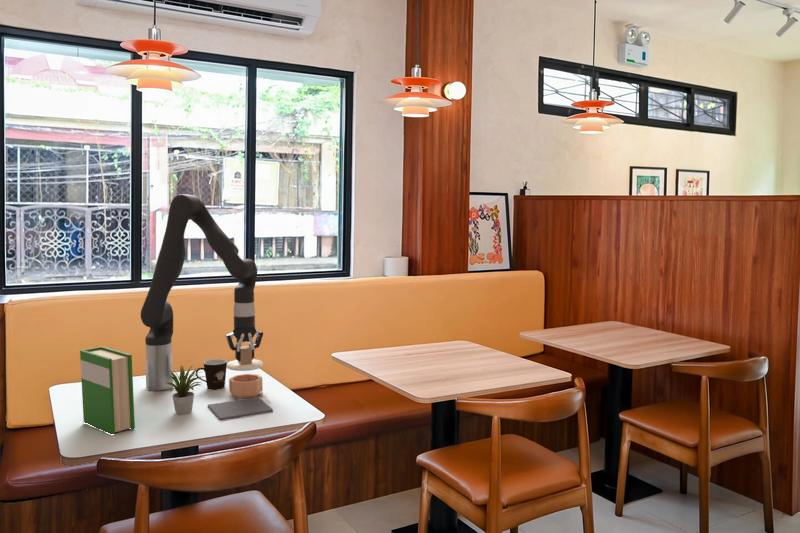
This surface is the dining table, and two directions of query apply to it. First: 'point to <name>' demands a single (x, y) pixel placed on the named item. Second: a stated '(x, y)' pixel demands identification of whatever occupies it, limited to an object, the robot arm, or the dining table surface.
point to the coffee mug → (214, 373)
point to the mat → (239, 408)
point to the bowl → (245, 385)
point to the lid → (245, 361)
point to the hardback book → (107, 389)
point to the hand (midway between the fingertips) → (244, 360)
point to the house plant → (183, 391)
